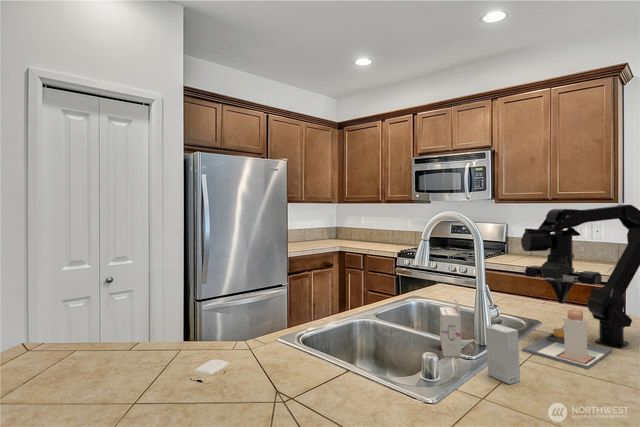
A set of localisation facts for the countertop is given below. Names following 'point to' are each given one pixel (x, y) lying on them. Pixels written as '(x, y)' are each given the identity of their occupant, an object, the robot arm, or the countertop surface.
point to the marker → (575, 335)
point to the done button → (558, 333)
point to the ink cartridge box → (450, 331)
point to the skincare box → (503, 353)
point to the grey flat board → (556, 351)
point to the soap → (211, 366)
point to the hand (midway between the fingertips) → (561, 303)
